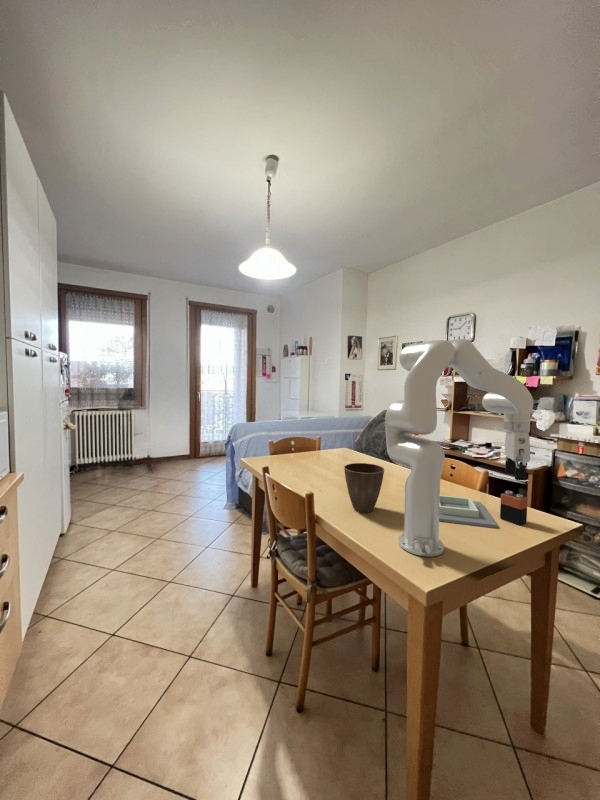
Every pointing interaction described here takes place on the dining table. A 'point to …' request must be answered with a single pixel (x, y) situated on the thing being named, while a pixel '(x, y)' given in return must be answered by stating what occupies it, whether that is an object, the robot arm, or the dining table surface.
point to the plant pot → (363, 485)
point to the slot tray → (464, 512)
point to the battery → (513, 508)
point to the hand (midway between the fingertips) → (515, 475)
